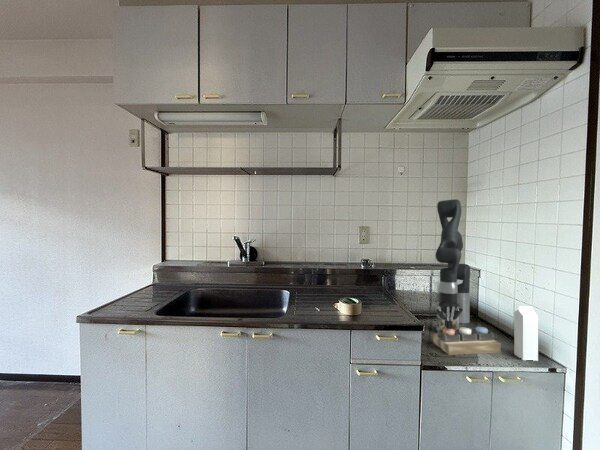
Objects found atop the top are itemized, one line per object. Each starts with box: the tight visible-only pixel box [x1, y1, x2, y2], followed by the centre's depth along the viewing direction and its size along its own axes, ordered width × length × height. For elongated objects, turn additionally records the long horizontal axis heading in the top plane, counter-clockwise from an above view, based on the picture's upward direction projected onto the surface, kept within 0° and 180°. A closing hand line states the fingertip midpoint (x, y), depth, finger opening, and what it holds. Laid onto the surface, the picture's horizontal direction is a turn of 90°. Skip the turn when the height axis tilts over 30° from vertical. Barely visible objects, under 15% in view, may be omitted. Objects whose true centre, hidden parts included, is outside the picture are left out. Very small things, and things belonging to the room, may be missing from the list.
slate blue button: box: [474, 326, 489, 334], centre depth 140 cm, size 5×5×2 cm
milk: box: [513, 305, 539, 362], centre depth 128 cm, size 6×6×22 cm
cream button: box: [459, 326, 472, 335], centre depth 139 cm, size 5×5×2 cm
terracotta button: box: [443, 328, 455, 335], centre depth 139 cm, size 5×5×2 cm
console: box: [432, 328, 502, 356], centre depth 140 cm, size 14×24×7 cm, turn 94°
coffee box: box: [436, 299, 460, 332], centre depth 158 cm, size 9×6×16 cm
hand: (448, 328), depth 139 cm, fingers closed
